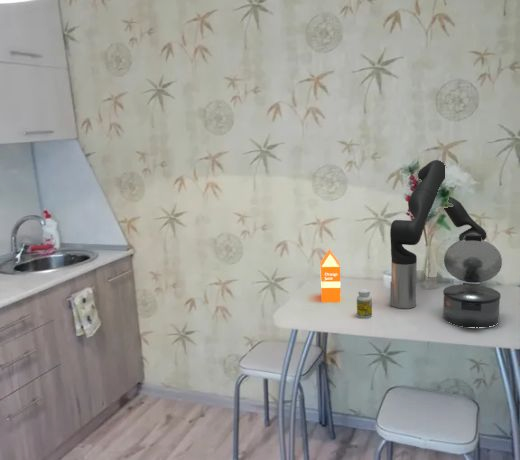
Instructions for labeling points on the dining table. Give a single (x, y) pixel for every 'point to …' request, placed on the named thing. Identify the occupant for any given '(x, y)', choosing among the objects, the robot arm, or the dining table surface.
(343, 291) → the dining table surface
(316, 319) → the dining table surface
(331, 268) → the orange juice
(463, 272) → the cooker lid
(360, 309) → the supplement bottle
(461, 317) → the cooker pot
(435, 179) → the robot arm
